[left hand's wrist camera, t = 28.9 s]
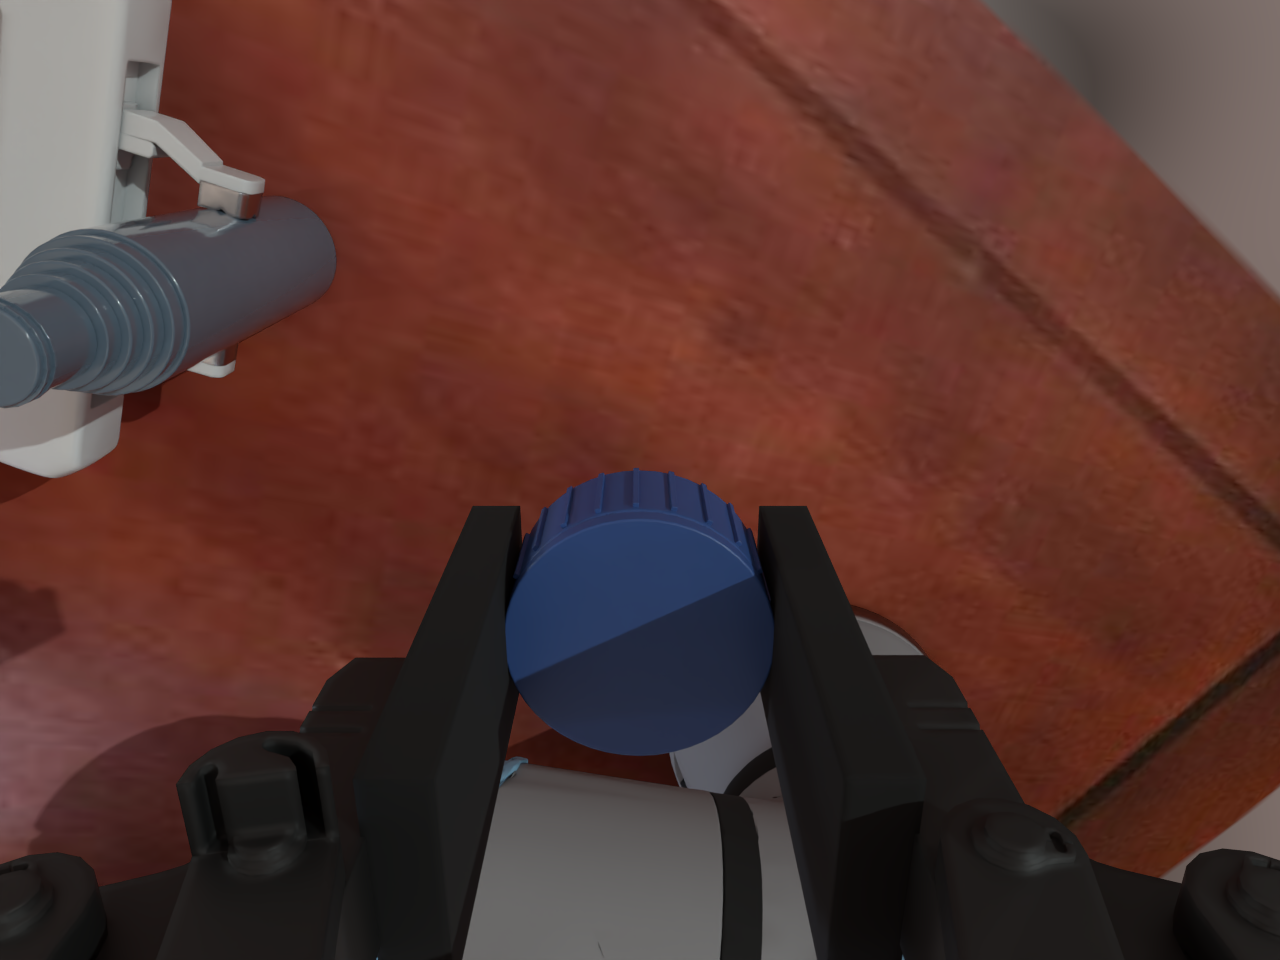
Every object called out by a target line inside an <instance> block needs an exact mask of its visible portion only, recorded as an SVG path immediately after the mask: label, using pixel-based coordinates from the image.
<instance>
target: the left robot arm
mask: <svg viewBox="0 0 1280 960" xmlns="http://www.w3.org/2000/svg"><path fill="white" fill-rule="evenodd" d="M521 547H522V534H521V515H520V506H473V507H472V509H471V511H470V514H469V516H468V518H467V520H466V523H465V525H464V527H463V529H462V532H461V534H460V536H459V539H458V541H457V543H456V545H455V548H454V550H453V552H452V554H451V557H450V559H449V561H448V563H447V566H446V568H445V570H444V573H443V575H442V577H441V579H440V582H439V584H438V586H437V588H436V591H435V593H434V595H433V598H432V600H431V602H430V604H429V607H428V609H427V611H426V613H425V616H424V618H423V620H422V622H421V625H420V627H419V629H418V632H417V634H416V636H415V638H414V641H413V643H412V645H411V647H410V650H409V652H408V654H407V656H406V658H355V659H353V660H352V661H351V662H349V663H348V664H347V665H346V666H344V667H343V668H342V669H341V670H339V671H338V672H337V673H335V674H334V675H333V676H332V677H330V678H329V679H328V680H327V681H326V683H325V685H324V686H323V688H322V690H321V692H320V693H319V695H318V697H317V699H316V701H315V702H314V704H313V706H312V711H309V713H308V715H307V716H306V718H305V720H304V722H303V724H302V725H301V727H300V733H298V732H294V731H265V732H261V733H256V734H252V735H247V736H243V737H238V738H236V739H234V740H232V741H229V742H227V743H225V744H222V745H220V746H218V747H216V748H213V749H211V750H210V751H209V752H207V753H206V754H204V755H203V756H202V757H200V758H199V759H198V760H196V761H195V762H194V763H192V764H191V765H190V766H189V767H188V768H187V770H186V771H185V773H184V774H183V775H182V777H181V778H180V780H179V781H178V782H177V784H176V787H177V791H178V796H179V800H180V804H181V809H182V813H183V818H184V822H185V826H186V831H187V835H188V840H189V844H190V849H191V853H192V859H191V862H190V863H187V864H185V865H183V866H180V867H176V868H173V869H170V870H167V871H164V872H160V873H156V874H152V875H148V876H144V877H140V878H135V879H131V880H127V881H123V882H118V883H114V884H110V885H106V886H101V887H98V883H97V880H96V876H95V873H94V870H93V869H92V868H91V867H90V866H89V865H88V864H87V863H86V862H85V861H84V860H83V859H82V858H81V857H77V856H72V855H68V854H63V853H58V852H56V853H47V854H37V855H28V856H25V857H22V858H19V859H16V860H13V861H10V862H6V863H3V864H0V960H1280V860H1277V859H1273V858H1270V857H1267V856H1264V855H1261V854H1258V853H1255V852H1251V851H1241V850H1231V849H1218V850H1214V851H1209V852H1204V853H1200V854H1199V855H1198V856H1197V857H1196V858H1194V859H1193V860H1192V861H1191V862H1190V863H1189V864H1188V865H1187V866H1186V870H1185V874H1184V877H1183V881H1182V884H1181V883H1177V882H1173V881H1169V880H1164V879H1160V878H1156V877H1151V876H1147V875H1143V874H1139V873H1134V872H1130V871H1126V870H1122V869H1118V868H1115V867H1112V866H1108V865H1105V864H1102V863H1099V862H1096V861H1094V860H1092V859H1089V857H1088V855H1087V853H1086V852H1085V850H1084V848H1083V847H1082V845H1081V844H1080V842H1079V840H1078V839H1077V837H1076V836H1075V835H1074V834H1073V833H1072V832H1071V831H1070V830H1068V829H1067V828H1066V827H1065V826H1064V825H1062V824H1061V823H1060V822H1059V821H1058V820H1056V819H1055V818H1054V817H1052V816H1050V815H1048V814H1046V813H1044V812H1042V811H1040V810H1038V809H1036V808H1034V807H1031V806H1029V805H1026V804H1025V803H1024V802H1023V800H1022V798H1021V796H1020V795H1019V793H1018V791H1017V789H1016V788H1015V786H1014V784H1013V782H1012V780H1011V779H1010V777H1009V775H1008V773H1007V772H1006V770H1005V768H1004V766H1003V765H1002V763H1001V761H1000V759H999V758H998V756H997V754H996V752H995V751H994V749H993V747H992V745H991V744H990V742H989V740H988V738H987V737H986V735H985V733H984V731H983V730H980V727H979V726H980V724H979V723H978V721H977V719H976V717H975V716H974V714H973V712H972V710H971V709H970V708H968V707H967V701H966V700H965V698H964V696H963V694H962V693H961V691H960V689H959V687H958V686H957V684H956V682H955V680H954V679H953V677H952V676H950V675H949V674H948V673H947V672H945V671H944V670H943V669H942V668H940V667H939V666H938V665H936V664H935V663H934V662H933V661H931V660H930V659H929V658H928V656H927V655H926V653H925V652H924V651H923V649H922V648H921V647H920V646H919V644H918V643H917V642H916V641H915V640H914V639H913V638H912V637H911V636H910V635H909V634H908V633H906V632H905V631H904V630H903V629H901V628H900V627H899V626H897V625H896V624H894V623H893V622H891V621H890V620H888V619H886V618H884V617H882V616H880V615H878V614H876V613H873V612H871V611H868V610H866V609H863V608H859V607H856V606H853V605H850V603H849V601H848V599H847V597H846V594H845V592H844V590H843V588H842V585H841V583H840V581H839V578H838V576H837V574H836V572H835V569H834V567H833V565H832V563H831V560H830V558H829V556H828V554H827V551H826V549H825V547H824V544H823V542H822V540H821V538H820V535H819V533H818V531H817V529H816V526H815V524H814V522H813V519H812V517H811V515H810V513H809V510H808V508H807V506H759V523H758V542H757V551H758V555H759V558H760V562H761V566H762V569H763V573H764V576H765V580H766V584H767V587H768V591H769V594H770V598H771V607H772V611H773V616H774V639H773V655H772V665H771V669H770V672H769V675H768V677H767V679H766V681H765V684H764V686H763V688H762V689H761V691H760V693H759V694H758V696H757V697H756V699H755V700H754V702H753V703H752V704H751V705H750V707H749V708H748V709H747V710H746V711H745V712H744V714H743V715H741V716H740V717H739V718H738V719H737V720H736V721H735V722H734V723H733V724H731V725H730V726H729V727H727V728H726V729H724V730H723V731H722V732H720V733H719V734H717V735H715V736H713V737H712V738H710V739H708V740H706V741H704V742H702V743H699V744H697V745H694V746H692V747H689V748H686V749H682V750H679V751H675V752H671V753H670V758H671V763H672V767H673V770H674V773H675V775H676V779H677V781H678V784H679V786H680V787H676V786H670V785H663V784H657V783H650V782H644V781H637V780H631V779H624V778H618V777H611V776H605V775H598V774H592V773H585V772H579V771H573V770H566V769H560V768H553V767H547V766H540V765H534V764H528V759H526V758H523V757H513V758H511V759H509V760H508V761H505V757H506V752H507V748H508V743H509V738H510V733H511V729H512V724H513V719H514V715H515V710H516V705H517V701H518V696H519V691H518V690H517V688H516V686H515V684H514V682H513V679H512V677H511V675H510V672H509V669H508V663H507V649H506V632H505V615H506V610H507V607H508V603H509V599H510V596H511V592H512V589H513V585H514V581H515V579H514V578H513V575H514V571H515V568H516V564H517V561H518V557H519V554H520V550H521Z"/></svg>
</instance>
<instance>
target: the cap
mask: <svg viewBox="0 0 1280 960" xmlns="http://www.w3.org/2000/svg"><path fill="white" fill-rule="evenodd" d="M513 578H514V579H515V581H514V585H513V589H512V592H511V596H510V599H509V603H508V607H507V610H506V615H505V632H506V649H507V663H508V669H509V672H510V675H511V677H512V679H513V682H514V684H515V686H516V688H517V690H518V691H519V693H520V694H521V696H522V697H523V699H524V700H525V702H526V703H527V704H528V705H529V707H530V708H531V709H532V710H533V711H534V713H535V714H536V715H537V716H539V717H540V718H541V719H542V720H543V721H544V722H545V723H546V724H547V725H549V726H550V727H552V728H553V729H554V730H556V731H557V732H559V733H560V734H562V735H564V736H566V737H567V738H569V739H571V740H573V741H575V742H577V743H580V744H582V745H585V746H587V747H590V748H593V749H597V750H600V751H604V752H608V753H614V754H621V755H635V756H644V755H658V754H665V753H671V752H675V751H679V750H682V749H686V748H689V747H692V746H694V745H697V744H699V743H702V742H704V741H706V740H708V739H710V738H712V737H713V736H715V735H717V734H719V733H720V732H722V731H723V730H724V729H726V728H727V727H729V726H730V725H731V724H733V723H734V722H735V721H736V720H737V719H738V718H739V717H740V716H741V715H743V714H744V712H745V711H746V710H747V709H748V708H749V707H750V705H751V704H752V703H753V702H754V700H755V699H756V697H757V696H758V694H759V693H760V691H761V689H762V688H763V686H764V684H765V681H766V679H767V677H768V675H769V672H770V669H771V665H772V655H773V639H774V616H773V611H772V607H771V598H770V594H769V591H768V587H767V584H766V580H765V576H764V573H763V569H762V566H761V562H760V558H759V555H758V551H757V547H756V544H755V540H754V537H753V533H752V531H751V529H750V528H748V529H746V527H745V526H744V524H743V523H742V521H741V520H740V518H739V517H738V516H737V514H736V513H735V512H734V508H733V505H732V504H731V503H728V504H726V503H725V502H724V501H723V500H721V499H720V498H719V497H718V496H717V495H715V494H714V493H712V492H711V491H709V490H707V486H706V485H705V484H703V483H702V484H701V485H698V484H696V483H694V482H692V481H690V480H688V479H685V478H681V477H678V476H675V475H674V472H671V471H669V473H668V474H667V473H662V472H656V471H639V468H634V469H633V471H624V472H618V473H612V474H607V475H604V473H601V474H599V476H598V478H594V479H591V480H589V481H587V482H585V483H583V484H581V485H578V486H576V487H575V488H573V487H572V486H571V487H569V488H567V493H565V494H564V495H562V496H561V497H560V498H559V499H558V500H556V501H555V502H554V503H553V504H552V505H551V506H550V507H549V508H548V509H547V508H546V507H544V508H543V509H542V512H541V515H540V518H539V520H538V521H537V523H536V524H535V526H534V527H533V529H532V531H531V533H530V534H528V533H526V534H525V536H524V540H523V543H522V547H521V550H520V554H519V557H518V561H517V564H516V568H515V571H514V575H513Z"/></svg>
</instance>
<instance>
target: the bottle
mask: <svg viewBox="0 0 1280 960" xmlns="http://www.w3.org/2000/svg"><path fill="white" fill-rule="evenodd" d="M335 270H336V252H335V247H334V243H333V240H332V238H331V235H330V233H329V231H328V229H327V228H326V226H325V225H324V223H323V222H322V221H321V219H320V218H319V217H318V216H317V215H316V214H315V213H314V212H313V211H311V210H310V209H309V208H307V207H306V206H304V205H303V204H301V203H299V202H297V201H295V200H292V199H289V198H285V197H281V196H264V197H262V201H261V207H260V212H259V217H257V218H255V217H252V219H240V218H236V217H232V216H230V215H228V214H226V213H225V212H224V211H223V210H218V211H215V210H210V209H207V208H204V207H202V208H196V209H191V210H185V211H179V212H174V213H168V214H162V215H157V216H151V217H145V218H140V219H134V220H128V221H123V222H117V223H111V224H106V225H100V226H94V227H89V228H83V229H78V230H72V231H68V232H65V233H62V234H60V235H58V236H56V237H54V238H52V239H50V240H49V241H47V242H45V243H43V244H42V245H40V246H38V247H37V248H35V249H34V250H33V251H31V252H30V253H29V255H28V256H27V257H26V258H25V259H24V260H23V262H22V263H21V265H20V266H19V267H18V268H17V269H16V271H15V272H14V274H13V275H12V276H11V277H10V278H9V279H8V280H7V282H6V283H5V285H3V286H2V287H1V289H0V408H12V407H19V406H22V405H24V404H26V403H29V402H31V401H33V400H35V399H38V398H40V397H41V396H42V395H44V394H45V393H46V392H47V391H48V390H50V389H54V390H67V391H74V392H83V393H91V394H97V395H106V396H114V395H123V394H129V393H135V392H140V391H144V390H147V389H151V388H153V387H155V386H157V385H159V384H161V383H163V382H165V381H167V380H169V379H170V378H172V377H174V376H176V375H178V374H180V373H182V372H184V371H186V370H187V369H189V368H191V367H193V366H195V365H197V364H199V363H201V362H203V361H204V360H206V359H208V358H210V357H212V356H214V355H216V354H218V353H220V352H222V351H223V350H225V349H227V348H229V347H231V346H233V345H235V344H237V343H239V342H240V341H242V340H244V339H246V338H248V337H250V336H252V335H254V334H256V333H257V332H259V331H261V330H263V329H265V328H267V327H269V326H271V325H273V324H274V323H276V322H278V321H280V320H282V319H284V318H286V317H288V316H290V315H291V314H293V313H295V312H297V311H299V310H301V309H303V308H305V307H307V306H308V305H310V304H312V303H314V302H315V301H317V300H318V299H319V298H320V297H322V296H323V295H324V293H325V292H326V291H327V290H328V288H329V286H330V285H331V283H332V280H333V278H334V274H335Z"/></svg>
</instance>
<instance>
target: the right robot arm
mask: <svg viewBox="0 0 1280 960" xmlns="http://www.w3.org/2000/svg"><path fill="white" fill-rule="evenodd" d="M171 6H172V0H0V289H1V287H2V286H3V285H5V283H6V282H7V280H8V279H9V278H10V277H11V276H12V275H13V274H14V272H15V271H16V269H17V268H18V267H19V266H20V265H21V263H22V262H23V260H24V259H25V258H26V257H27V256H28V255H29V253H30V252H31V251H33V250H34V249H35V248H37V247H38V246H40V245H42V244H43V243H45V242H47V241H49V240H50V239H52V238H54V237H56V236H58V235H60V234H62V233H65V232H68V231H72V230H78V229H83V228H89V227H94V226H100V225H106V224H111V223H117V222H123V221H128V220H134V219H140V218H145V217H146V210H147V202H148V194H149V185H150V177H151V169H152V161H153V158H161V157H171V158H172V159H173V160H174V161H175V162H176V163H177V164H178V165H179V166H180V167H181V168H183V169H184V170H185V171H186V172H187V173H188V174H189V175H190V176H191V177H192V178H193V179H194V180H196V181H197V182H198V183H200V188H199V197H198V206H201V207H204V208H207V209H210V210H215V211H218V210H223V211H224V212H225V213H226V214H228V215H230V216H232V217H236V218H240V219H252V217H255V218H257V217H259V212H260V207H261V201H262V196H263V192H264V185H265V179H263V178H261V177H259V176H256V175H253V174H250V173H247V172H244V171H241V170H237V169H234V168H231V167H228V166H225V165H223V161H222V160H221V159H220V158H219V157H218V156H217V155H216V154H215V153H214V152H213V150H212V149H211V148H210V147H209V146H208V145H207V144H206V143H205V142H204V141H203V140H202V139H201V138H200V137H199V136H198V135H197V134H196V133H195V132H194V131H193V130H192V129H191V128H190V127H189V126H188V125H187V124H186V123H185V122H184V121H181V120H178V119H175V118H172V117H169V116H166V115H163V114H160V113H158V111H159V103H160V95H161V87H162V78H163V70H164V62H165V54H166V46H167V37H168V29H169V21H170V13H171ZM237 349H238V343H237V344H235V345H233V346H231V347H229V348H227V349H225V350H223V351H222V352H220V353H218V354H216V355H214V356H212V357H210V358H208V359H206V360H204V361H203V362H201V363H199V364H197V365H195V366H193V367H191V368H189V369H187V370H189V371H192V372H195V373H199V374H202V375H206V376H209V377H218V378H221V377H224V376H226V375H228V374H229V373H231V372H233V371H234V368H235V362H236V356H237ZM123 400H124V394H123V395H114V396H106V395H97V394H91V393H83V392H74V391H67V390H54V389H50V390H48V391H47V392H46V393H45V394H44V395H42V396H41V397H40V398H38V399H35V400H33V401H31V402H29V403H26V404H24V405H22V406H19V407H12V408H0V462H2V463H5V464H7V465H10V466H13V467H16V468H18V469H21V470H24V471H27V472H30V473H33V474H37V475H40V476H44V477H49V478H59V477H63V476H67V475H70V474H72V473H75V472H77V471H79V470H81V469H84V468H86V467H87V466H89V465H91V464H93V463H95V462H96V461H98V460H99V459H101V458H102V457H104V456H105V455H107V454H108V453H110V452H111V451H112V450H113V449H114V448H115V447H116V446H117V444H118V440H119V434H120V425H121V417H122V409H123Z"/></svg>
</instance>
